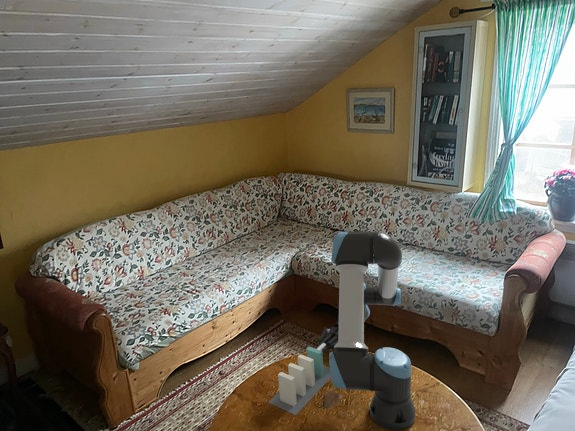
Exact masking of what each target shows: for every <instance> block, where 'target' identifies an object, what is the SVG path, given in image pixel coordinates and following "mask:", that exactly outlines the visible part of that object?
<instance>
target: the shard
mask: <svg viewBox="0 0 575 431" xmlns="http://www.w3.org/2000/svg"><path fill="white" fill-rule="evenodd" d="M343 397H344V396H343V395H342V394H341V393H339V392H338V391H337V390H335V389H334V388H331V389H329V390H328V391H326V392H325V393H324V394H323V396H322V410H327V409H330V408H332V407H334V406H335V405H338V404H339V403H340V402H341V401H342V400H343ZM322 413H324V411H322Z"/></svg>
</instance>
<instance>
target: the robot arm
mask: <svg viewBox="0 0 575 431" xmlns="http://www.w3.org/2000/svg"><path fill="white" fill-rule="evenodd" d="M332 242H333V243H332V246H331V247H332V248H331V263H332V264H334V265H335V270H337V272H338V273H339V284H338V285H339V286H338V287H339V288H338V289H339V292H338V295H339V298H338V299H339V300H338V321H336V322H335V324H334V326H332V327H330V328H327V327H323V330H322V331H323V332H322V333H321V334H320V336H319V338H318V345H317V346H316V349H317V350H320V351H322V355H323V354H325V353H327V352H328V351H330V350H331V352H329V355H328V356H329V357H328V359H329V361H328V362H329V364H328V365H329V368H330V374H331V378H330V379H331V384H332V385H333V387H335V388H336V389H341V390H346V391H348V390H351V391H352V390H353V391H366V392H367V391H368V392H370V391H371V392H374V394H373V397H372V399H371V402H370V404H369V415H370V417H371V419H372V420H373V422H374V423H375V424H376V425H377V426H379V427H381V428H384V429H387V430H391V431H401V430H406V429H409V428H410V427H411V426H412V425H413V424H414V423H415V422H416V414H417V413H416V407H415V404H414V402H413V399H412V396H411V392H412V391H411V390H412V389H411V387H412V373H413V372H412V362H411V359H410V357H409V356H408V355H407V354H406V353H404V352H403V351H401V350H399V349H397V348H394V347H390V346H389V347H387V346H386V347H384V346H383V347H381V348H378V349H377V350H376V351H375V352H374V353H369V347H368V346H367V345H366V344H365V334H364V332H365V330H364V329H365V324H364V323H365V322H366V321H367V319H369V316H370V314H371V310H370V308H369V306H368V305H374V306H375V305H378V306H380V305H381V306H400V305H401V302H402V293H401V292H402V291H401V288H400V287H398V277H399V267H400V265H401V264H402V260H403V253H402V250H401V247H400V245H399V244H398V243H397V241H396V240H394V238H393V237H391V236H390V235H388V234H387V233H384V232H381V231H357V230H356V231H353V230H351V231H349V230H347V231H338V232H336V234H335V235H334V237H333V241H332ZM369 265H377V268H378V269H377V282H378V283H377V286H367V285H366V282H365V273H366V272H367V271H368V270H369Z"/></svg>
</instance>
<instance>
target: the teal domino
mask: <svg viewBox="0 0 575 431" xmlns="http://www.w3.org/2000/svg"><path fill="white" fill-rule="evenodd" d="M305 352H306V357H309V358H312V359H314V374H315V375H318V376H320V377H323V375H324V366H325V365H324V357H323V354H322V351H320V350H317V348H315V347H311V346H308V347H307V348H306V349H305Z"/></svg>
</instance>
